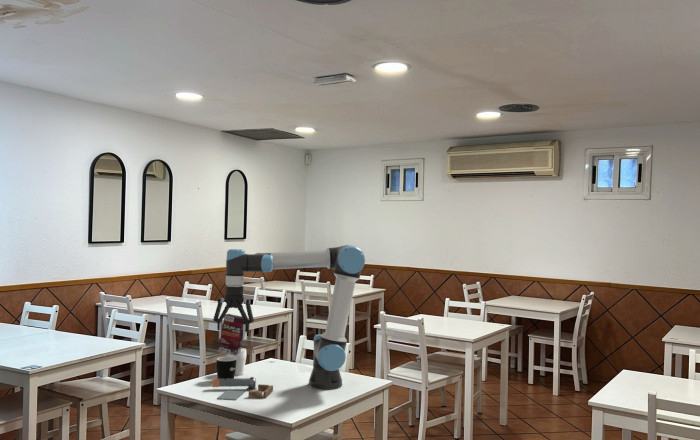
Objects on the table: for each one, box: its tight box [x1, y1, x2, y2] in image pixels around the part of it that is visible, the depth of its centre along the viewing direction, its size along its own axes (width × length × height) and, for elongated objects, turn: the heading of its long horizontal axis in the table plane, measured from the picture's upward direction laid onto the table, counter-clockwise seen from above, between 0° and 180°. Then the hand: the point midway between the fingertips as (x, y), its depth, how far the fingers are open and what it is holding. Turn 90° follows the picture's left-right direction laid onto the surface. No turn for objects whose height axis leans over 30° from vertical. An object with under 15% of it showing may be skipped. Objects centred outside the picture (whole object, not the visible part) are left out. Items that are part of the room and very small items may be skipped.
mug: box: [216, 356, 236, 379], centre depth 263 cm, size 12×9×10 cm
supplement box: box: [217, 313, 245, 356], centre depth 239 cm, size 9×5×16 cm, turn 82°
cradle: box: [246, 383, 274, 399], centre depth 243 cm, size 12×15×2 cm
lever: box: [211, 376, 257, 389], centre depth 248 cm, size 3×19×5 cm, turn 97°
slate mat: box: [216, 390, 245, 401], centre depth 238 cm, size 8×12×1 cm, turn 173°
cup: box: [227, 347, 247, 377], centre depth 275 cm, size 9×9×12 cm
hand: (232, 338), depth 239 cm, fingers closed on supplement box, 10 cm apart
